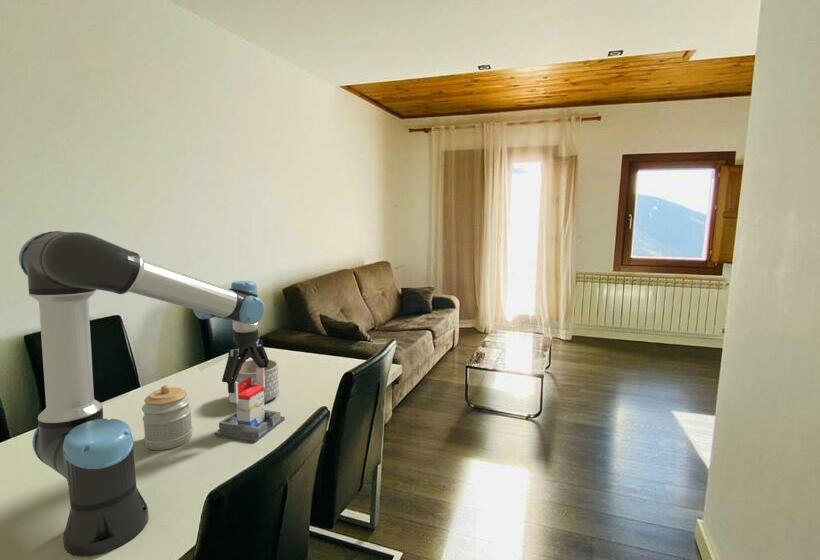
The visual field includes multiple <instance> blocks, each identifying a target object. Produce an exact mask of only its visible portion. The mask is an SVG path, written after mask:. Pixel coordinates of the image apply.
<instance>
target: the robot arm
mask: <svg viewBox="0 0 820 560" xmlns="http://www.w3.org/2000/svg"><path fill="white" fill-rule="evenodd" d="M18 262H19V266H20V269H21V270H22V272H23V273H24V275H26V276H27V284H28V285H27V286H28V295H29V297H32V298H33V299H35V300H36V302H38V304H39V305H38V306H39V320H40V322H39V323H40V337H41V350H42V364H43V366H42V367H43V378H44V380H43V381H44V393H45V408H44V410H42V411H41V412H40V413H39V414H38V415H37V422H38V423H37V424H38V425H37V426H38V427H36V429H35V430H34V433H33V436H32V442H31V443H32V448H33V452H34V454H35V456H36V457H37V458H38V460H39V461H41V462H42V463H43V464H44V465H46V466H48V467H50V468H51V469H53V470H54V471H55V472H57V473H58V474H59V475H61V476H62V477H63V478H64V479H66V481H67V487H68V495H69V496H68V497H69V504H70V510H69V514H68V517H67V521H66V526H65V528H64V532H63V535H62V540H63V541H62V542H63V547H64V550H65V552H66V551H67V552H66V553H68V554H69V553H70V554H69V555H71V554H72V555H73V556H75V555H77V556H76V557H88V556H89V557H90V556H96V555H100V554H103V553H107V552H109V551H112V550H115V549H117V548H119V547H121V546H123V545H125V544H126V543H128V542H130V541H131V540H132V539H134V538H135V537H136V536H138V535H139V534H140V533H141V532H142V531H143V530H144V529H145V527H146V526H147V524H148V521H149V517H150V516H149V507H148V505H147V502H146V501H145V499H144V497H143V496H142V494H141V492H140V491H139V489H138V488H137V479H136V478H137V477H136V476H137V475H136V468H135V467H136V465H135V455H134V454H135V453H134V437H133V434H132V430H131V427H130V425H128V423H127V422H126V421H123V420H121V419H117V418H110V419H108V418H104V412H103V411H104V409H103V403H101V402H100V401H98V400H97V399H95V394H94V391H95V390H94V389H95V388H94V376H93V357H92V355H93V354H92V340H91V324H90V322H91V321H90V306H89V305H90V304H89V302H90V301H89V300H90V298H91V297H92V296H93V295H94V294H95V293H96V292H97V291H103V292H110V293H113V294H118V295H124V294H127V293H132V294H135V295H139V296H142V297H146V298H150V299H154V300H157V301H162V302H166V303H169V304H173V305H175V306H180V307H184V308H188V309H190V310H192V311H193V313H194V314H195V315H194V316H196V318H198V319H200V320H206V319H208V320H209V319H212V318H214V319H215V318H217V319H223V320H228V321H232V330H234V331H233V332H232V336H233V337H232V339H233V340H232V341H233V343H234V344H235V348H234V349H230V348H229V350H228V358H227V361H226V365H225V368H224V371H223V375H222V378H221V379H222V380H221V382H222V383H225V384H226V383H227V393H228V402H229V403H234V404H236V403H238V382H236V379H237V376H238V374H239V372H240V369H241V367H242V365H243V363H244V362H245V361H248V360H250V359H251V360H254V362H255V363H256V364H257V366H258V367H257V368H256V376H257V385H259V386H264V387H265V368H267V367H268V364H269V360H270V359H269V358H268V357H269V356H268V355H267V352H266V350H265V346H264V341H263V339H259V329H258V328H259V322H260V321H261V320H262V319H263V318H264V315H265V311H266V307H265V306H266V305H265V303H264V301H263V300H262V299H261V298H259V297H258V296H259V295H258V286H257V283H256V282H255V281H252V280H237V281H233V282H232V283H231V286H230V289H229V288H226V287H223V286H220V285H216V284H214V283H211V282H208V281H205V280H203V279H199V278H197V277H193V276H191V275H187V274H184V273H181V272H179V271H176V270H173V269H171V268H167V267H164V266H161V265H158V264H156V263H152V262H150V261H146V260H145V259H144V260H143V258H142V256H141V254H139V253H137V252H134V251H133V250H129V249H127V248H124V247H123V246H119V245H117V244H114V243H113V242H110V241H108V240H106V239H103V238H102V237H98V236H95V235H93V234H90V233H87V232H81V231H80V232H79V231H76V232H75V231H73V232H72V231H60V230H54V231H47V232H43V233H39V234H36V235H33V236H32V237H31V238H29V239H28V240H27V241H25V243H24V244H23V246H22V247H21V249H20V250H19V254H18ZM268 359H269V360H268ZM232 377H233V379H232ZM72 555H71V556H72Z"/></svg>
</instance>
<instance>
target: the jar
mask: <svg viewBox="0 0 820 560" xmlns="http://www.w3.org/2000/svg"><path fill="white" fill-rule="evenodd" d="M187 394H188V392H187V390H185V389H182V388H179V387H175V386H174V387H171V386H170V385H169V384H165V385H162V386H161V387H160V389H156V390H154V391H153V392H151V393H150V394H148V396H146V397H145V399H144V400H143V401H144V404H143V405H142V406H141V411H142V412H143V413H144V414H143V415H144V416H143V417H142V421H143V429H144V430H143V431H144V437H143V438H144V443H145V447H146V448H148V449H150V450H153V451H155V450H156V451H160V450H162V451H163V450H169V449H174V448H177V447H179V446H181V445H183V444H185V443H186V442H188V441H190V439H191V438H192V437H193V432H194V431H193V430H194V429H193V425H192V408H191V406H190V402H191V398H190V397H189V396H187Z"/></svg>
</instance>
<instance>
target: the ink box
mask: <svg viewBox="0 0 820 560" xmlns="http://www.w3.org/2000/svg"><path fill="white" fill-rule="evenodd" d="M251 379H252V378H251V377H249V378H248V379H246V380H244V381H242V382H241V383H239V384H238V403H235V405H236V411H237V424H242V425H248V426H257V425H258V424H259V423H261V422H262V421H263V420H264V419H265V410H266V409H265V403H264V386H259V385H251ZM244 383H246V385H245V386H243V387H241V386H242V385H243V384H244Z"/></svg>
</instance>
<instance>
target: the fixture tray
mask: <svg viewBox="0 0 820 560" xmlns="http://www.w3.org/2000/svg"><path fill="white" fill-rule="evenodd" d="M264 410H265V419H264V420H263V421H262V422H261V423H259V424H258V425H257V426H248V425H242V424H237V410H236V411H235V412H233V413H231V415H228V416H227V417H226V418H224V419H222V420H221V421H219V422H218V430H216V431H215V432H214V433H213V434H214V435H213V436H214V437H220V438H226V439H231V440H235V441H236V440H237V441H243V442H249V443H254V444H255V443H257V442H259V440H261V439H262V438H264V436H266V435H267V434H268V433H270V432H271V431H273V430H274V429H275V428H276V427H277V426H279V425H280V424H281V423H283V422H284V421H285V419H286V418H285V417H286V416H281V412H279V411H275V410H269V409H267V410H266V409H264Z"/></svg>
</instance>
